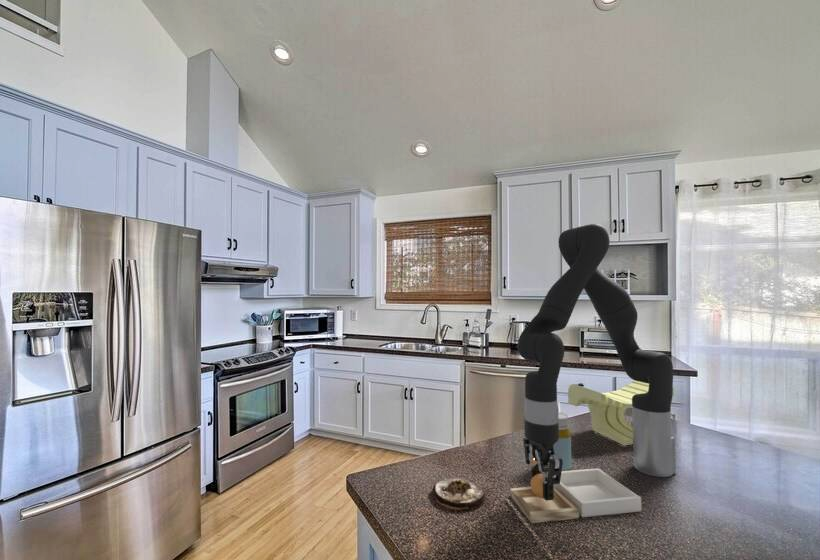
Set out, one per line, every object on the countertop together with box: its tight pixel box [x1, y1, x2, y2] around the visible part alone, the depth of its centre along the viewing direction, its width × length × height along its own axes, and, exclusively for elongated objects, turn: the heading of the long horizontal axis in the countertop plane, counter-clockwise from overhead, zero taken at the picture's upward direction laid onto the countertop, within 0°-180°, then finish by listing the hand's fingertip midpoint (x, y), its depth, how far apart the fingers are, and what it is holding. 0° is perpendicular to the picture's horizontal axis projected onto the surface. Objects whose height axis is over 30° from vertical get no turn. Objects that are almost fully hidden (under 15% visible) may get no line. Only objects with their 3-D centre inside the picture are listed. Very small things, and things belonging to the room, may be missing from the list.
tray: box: [509, 486, 580, 524], centre depth 86 cm, size 11×11×2 cm
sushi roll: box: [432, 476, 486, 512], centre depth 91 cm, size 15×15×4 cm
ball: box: [530, 473, 544, 499], centre depth 86 cm, size 5×5×5 cm
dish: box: [546, 468, 642, 518], centre depth 90 cm, size 15×15×4 cm
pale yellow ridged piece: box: [567, 380, 675, 445], centre depth 131 cm, size 30×16×18 cm, turn 105°
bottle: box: [544, 411, 572, 471], centre depth 106 cm, size 7×7×15 cm
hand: (542, 492), depth 86 cm, fingers closed on ball, 5 cm apart
